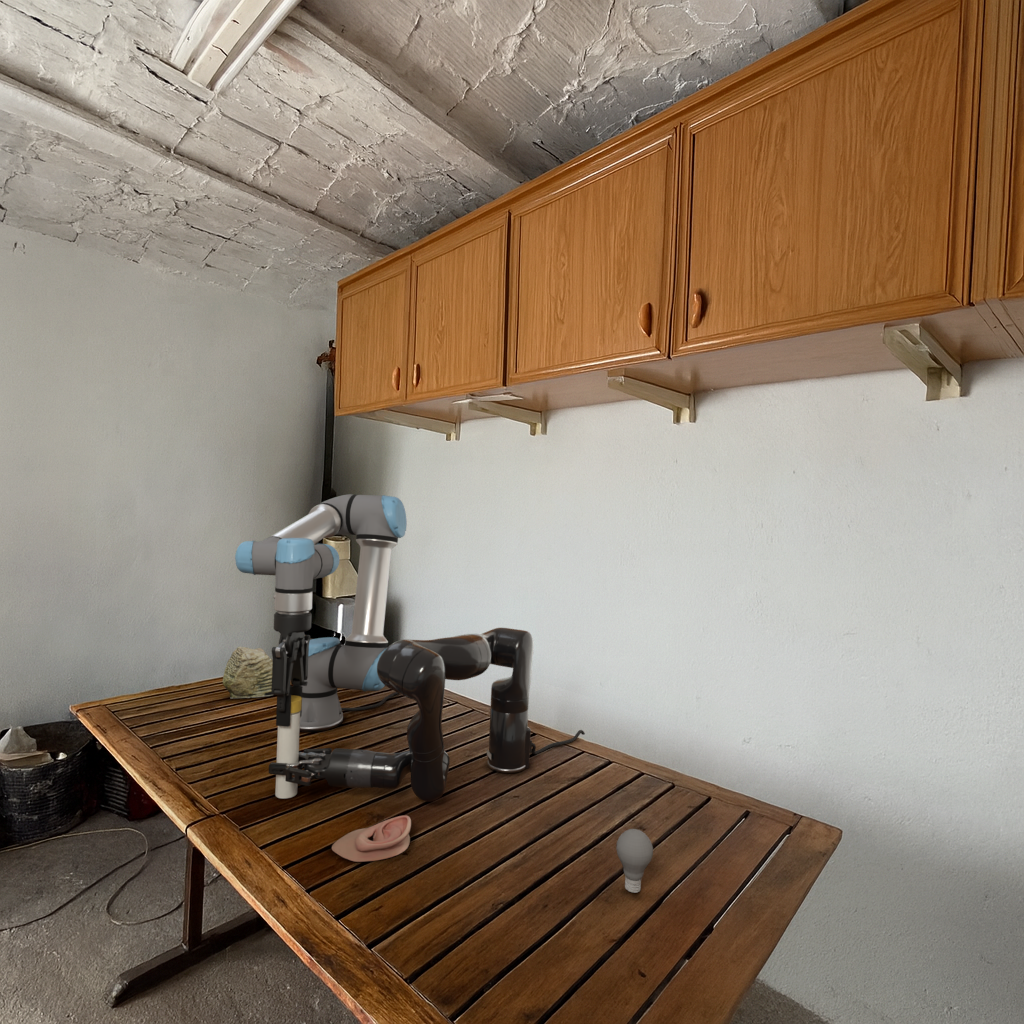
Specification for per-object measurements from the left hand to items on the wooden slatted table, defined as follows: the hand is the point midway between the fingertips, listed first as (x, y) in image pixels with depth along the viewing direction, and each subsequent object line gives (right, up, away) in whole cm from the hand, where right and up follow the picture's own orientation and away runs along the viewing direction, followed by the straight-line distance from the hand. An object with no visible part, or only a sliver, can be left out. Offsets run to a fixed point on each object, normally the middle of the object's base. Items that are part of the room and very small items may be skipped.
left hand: (288, 720), depth 134 cm
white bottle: (-1, -16, 0) cm, 16 cm away
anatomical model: (+22, -17, -18) cm, 33 cm away
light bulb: (+67, -19, -28) cm, 76 cm away
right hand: (-3, -9, 0) cm, 10 cm away
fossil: (-33, -13, +64) cm, 73 cm away
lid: (0, +4, 0) cm, 4 cm away
